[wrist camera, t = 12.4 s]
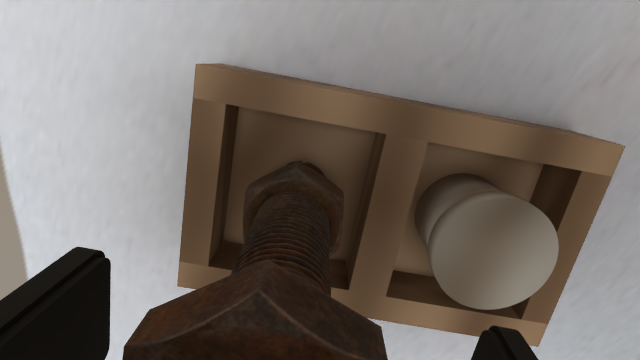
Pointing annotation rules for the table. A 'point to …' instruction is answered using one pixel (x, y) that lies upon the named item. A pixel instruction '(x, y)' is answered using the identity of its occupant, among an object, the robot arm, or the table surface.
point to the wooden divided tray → (400, 197)
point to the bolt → (269, 286)
